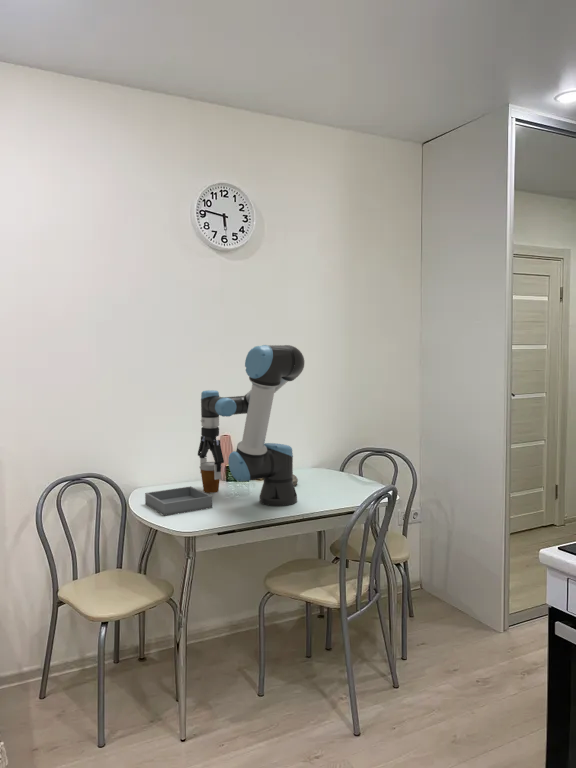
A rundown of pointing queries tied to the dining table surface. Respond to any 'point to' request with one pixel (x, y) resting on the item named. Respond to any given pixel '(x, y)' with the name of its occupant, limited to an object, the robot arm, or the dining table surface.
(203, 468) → the disposable coffee cup
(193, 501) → the crate
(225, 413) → the robot arm
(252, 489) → the dining table surface
